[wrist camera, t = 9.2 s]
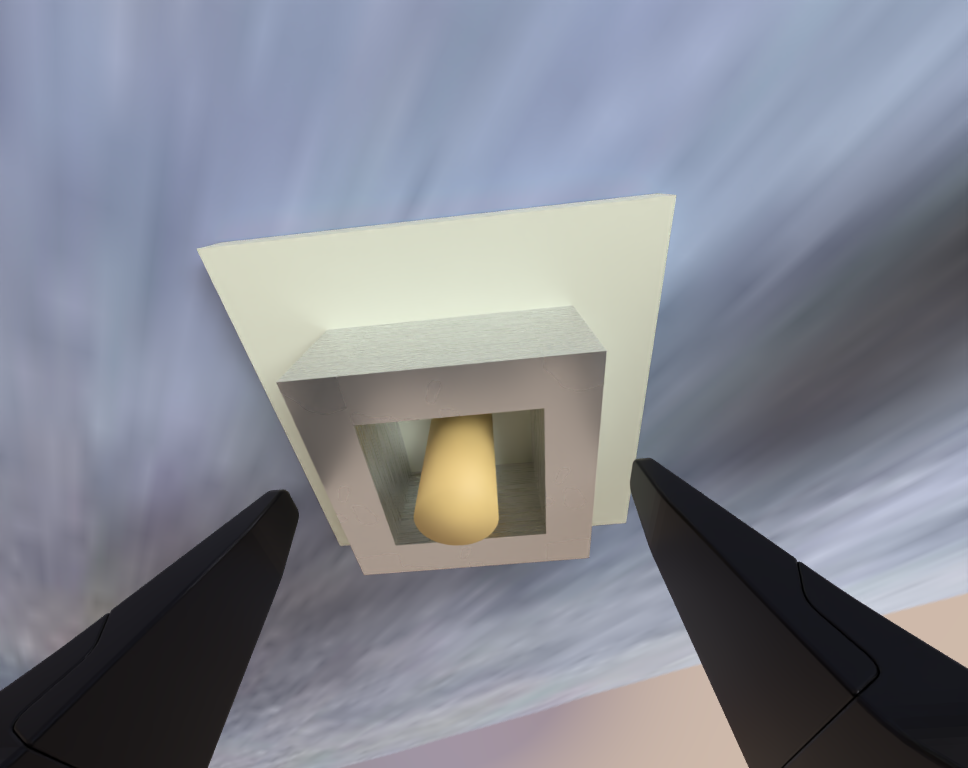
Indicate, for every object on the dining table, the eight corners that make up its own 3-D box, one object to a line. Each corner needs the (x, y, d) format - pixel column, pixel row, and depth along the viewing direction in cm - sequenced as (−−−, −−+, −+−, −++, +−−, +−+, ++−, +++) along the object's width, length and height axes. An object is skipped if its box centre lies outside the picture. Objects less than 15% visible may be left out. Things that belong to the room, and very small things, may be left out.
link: (572, 305, 10) (606, 350, 7) (567, 484, 13) (588, 557, 11) (327, 329, 10) (275, 382, 8) (385, 499, 14) (363, 575, 11)
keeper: (658, 193, 9) (810, 207, 5) (617, 503, 15) (671, 630, 11) (221, 242, 10) (22, 293, 6) (347, 525, 16) (299, 656, 12)
